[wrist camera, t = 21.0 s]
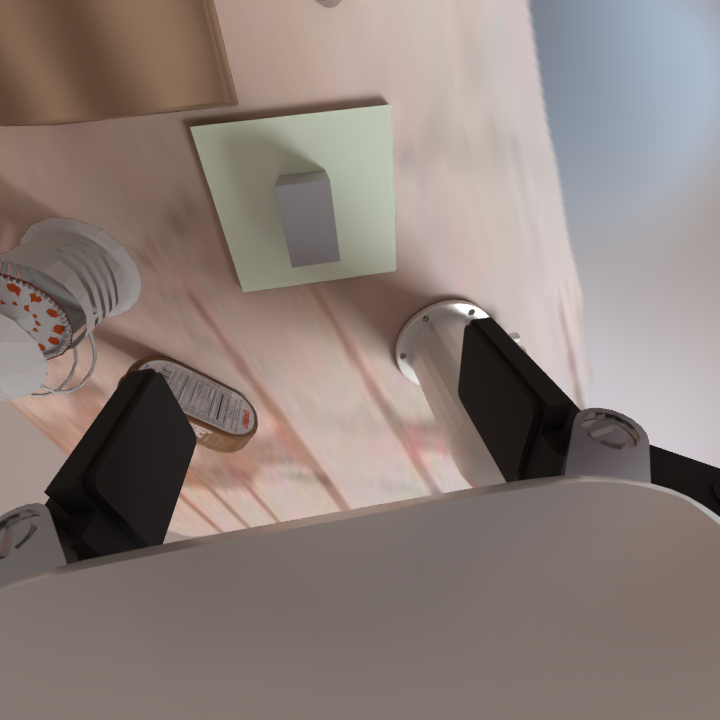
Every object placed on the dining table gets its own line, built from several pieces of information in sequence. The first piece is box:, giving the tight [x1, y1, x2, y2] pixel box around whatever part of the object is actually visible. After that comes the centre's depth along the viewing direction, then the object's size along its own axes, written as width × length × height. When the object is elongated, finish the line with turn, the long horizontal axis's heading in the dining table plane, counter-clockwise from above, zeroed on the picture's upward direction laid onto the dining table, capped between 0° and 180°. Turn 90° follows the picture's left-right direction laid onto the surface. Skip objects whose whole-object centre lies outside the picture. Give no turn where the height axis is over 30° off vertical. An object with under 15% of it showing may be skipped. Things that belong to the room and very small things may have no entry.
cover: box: [190, 104, 396, 293], centre depth 29 cm, size 16×14×8 cm
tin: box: [117, 357, 258, 453], centre depth 38 cm, size 15×3×8 cm, turn 47°
